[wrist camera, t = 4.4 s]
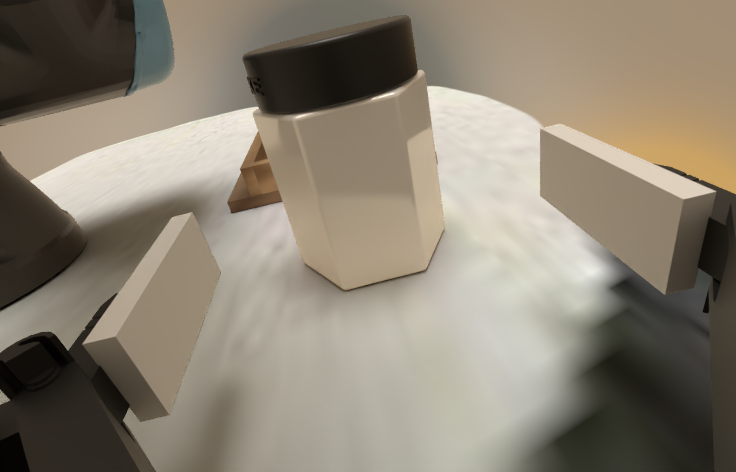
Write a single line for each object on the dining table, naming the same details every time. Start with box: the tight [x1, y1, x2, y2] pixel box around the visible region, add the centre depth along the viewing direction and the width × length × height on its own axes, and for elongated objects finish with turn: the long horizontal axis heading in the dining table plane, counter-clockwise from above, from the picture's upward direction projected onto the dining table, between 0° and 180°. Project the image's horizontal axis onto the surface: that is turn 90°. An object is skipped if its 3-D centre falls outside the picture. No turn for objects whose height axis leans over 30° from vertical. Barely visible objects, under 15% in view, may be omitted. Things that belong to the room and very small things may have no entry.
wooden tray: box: [227, 131, 437, 213], centre depth 40 cm, size 18×15×4 cm
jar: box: [243, 15, 445, 290], centre depth 22 cm, size 9×8×12 cm
